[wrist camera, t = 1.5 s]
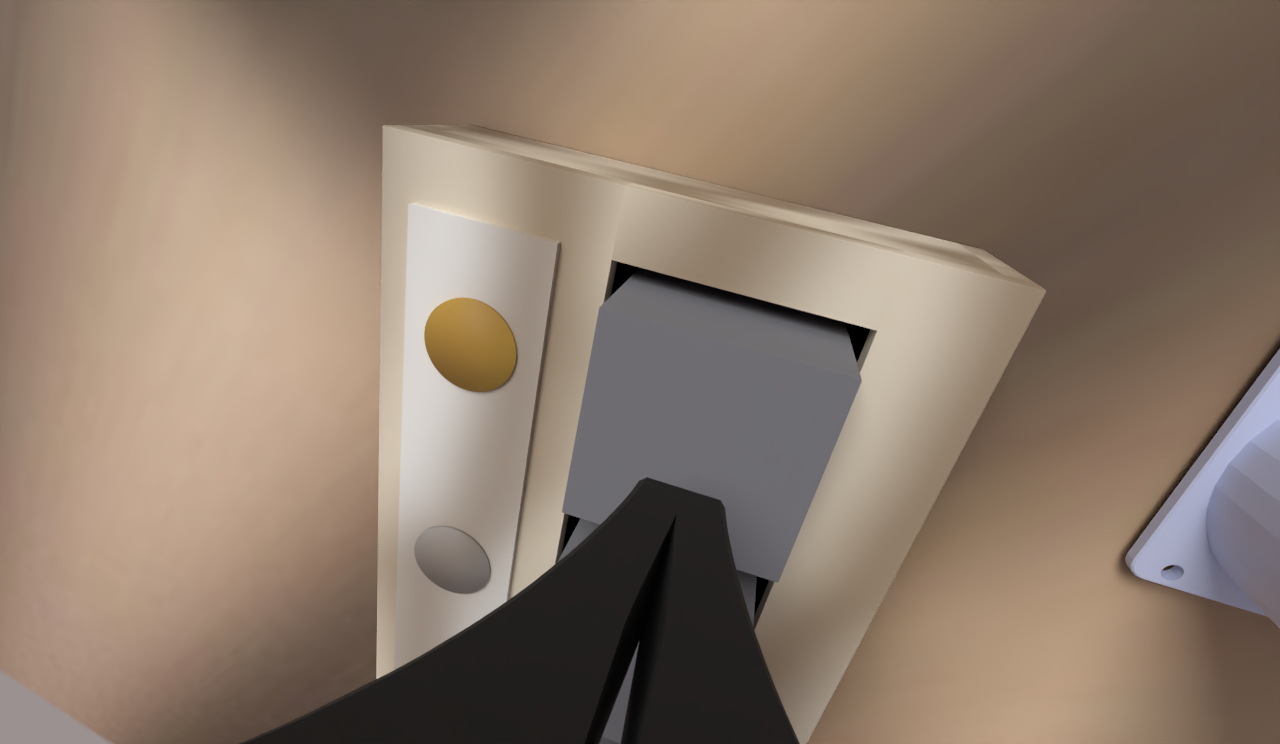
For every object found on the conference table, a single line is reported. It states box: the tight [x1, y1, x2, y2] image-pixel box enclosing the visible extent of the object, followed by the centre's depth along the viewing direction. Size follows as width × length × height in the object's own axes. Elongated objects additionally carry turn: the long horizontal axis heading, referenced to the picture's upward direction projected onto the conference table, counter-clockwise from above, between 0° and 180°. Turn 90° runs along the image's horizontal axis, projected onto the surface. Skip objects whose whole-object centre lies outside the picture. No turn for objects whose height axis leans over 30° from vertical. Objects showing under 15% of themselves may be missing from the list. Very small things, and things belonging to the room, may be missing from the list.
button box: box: [376, 125, 1047, 744], centre depth 18 cm, size 14×23×4 cm, turn 168°
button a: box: [562, 268, 862, 583], centre depth 13 cm, size 5×5×4 cm
